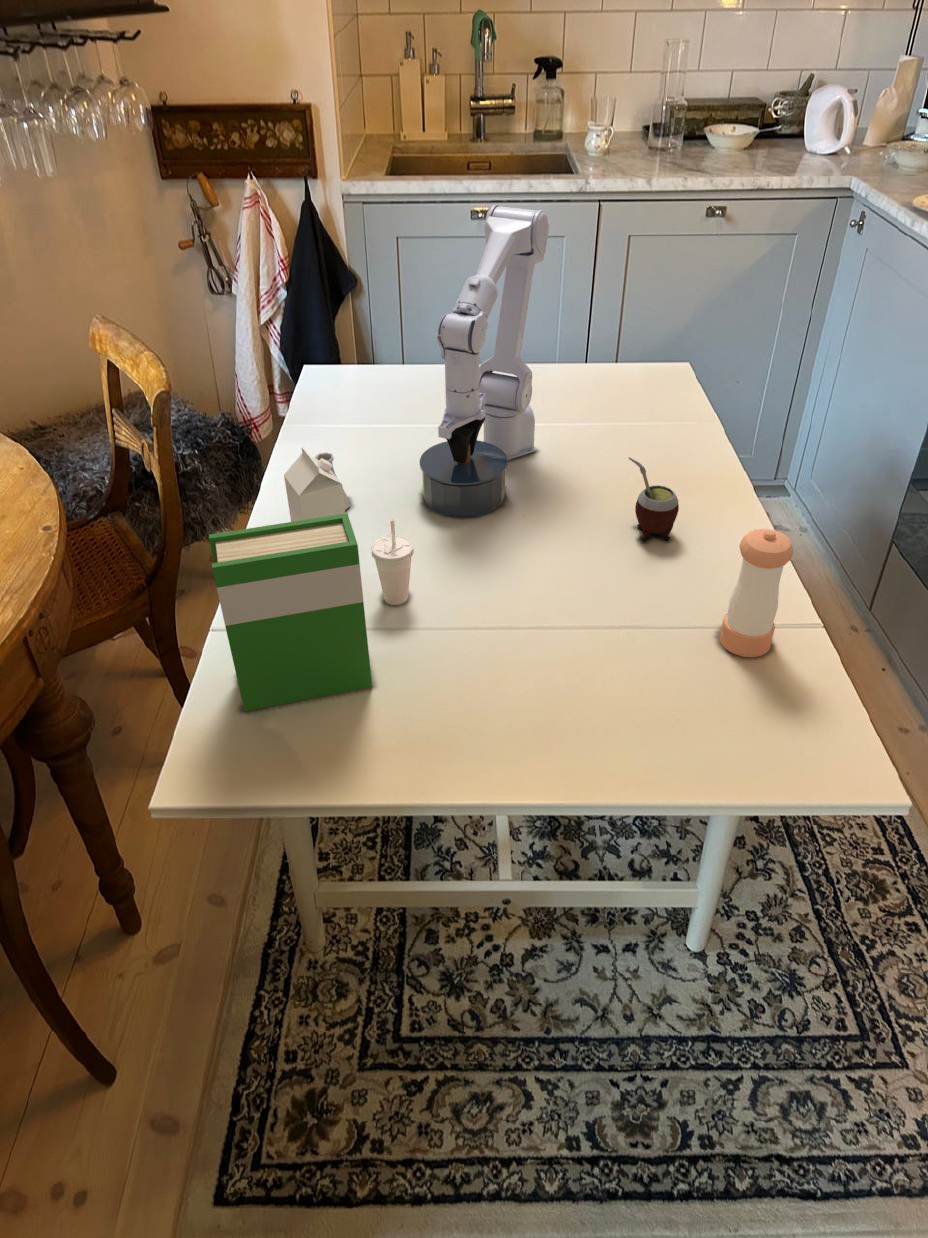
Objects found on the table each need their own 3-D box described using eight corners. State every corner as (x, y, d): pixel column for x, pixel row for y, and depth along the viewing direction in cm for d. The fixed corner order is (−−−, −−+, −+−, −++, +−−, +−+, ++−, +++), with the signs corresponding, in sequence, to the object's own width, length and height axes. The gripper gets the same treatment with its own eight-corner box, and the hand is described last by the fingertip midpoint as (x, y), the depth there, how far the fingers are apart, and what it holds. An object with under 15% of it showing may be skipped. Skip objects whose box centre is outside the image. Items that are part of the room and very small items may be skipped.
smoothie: (423, 591, 148) (419, 516, 139) (404, 614, 143) (399, 538, 135) (387, 581, 150) (381, 506, 141) (368, 604, 145) (360, 528, 137)
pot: (457, 467, 178) (456, 437, 174) (520, 491, 171) (521, 460, 167) (407, 499, 169) (405, 469, 165) (471, 526, 162) (470, 495, 158)
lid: (456, 436, 175) (456, 415, 172) (525, 461, 167) (525, 439, 165) (401, 470, 165) (400, 448, 163) (471, 498, 158) (471, 476, 155)
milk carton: (310, 575, 152) (295, 472, 140) (295, 553, 156) (280, 451, 145) (351, 563, 154) (340, 460, 142) (335, 541, 159) (323, 441, 147)
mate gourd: (682, 532, 160) (694, 454, 150) (656, 552, 155) (667, 473, 146) (645, 516, 164) (655, 439, 154) (619, 535, 159) (627, 457, 150)
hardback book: (244, 711, 127) (212, 567, 112) (239, 675, 133) (208, 534, 118) (372, 686, 131) (357, 544, 116) (362, 653, 136) (347, 513, 121)
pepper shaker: (761, 663, 134) (789, 553, 122) (712, 646, 137) (734, 536, 125) (777, 635, 138) (805, 526, 126) (729, 619, 141) (752, 511, 129)
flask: (353, 496, 170) (349, 447, 164) (346, 518, 165) (340, 468, 158) (314, 494, 171) (308, 445, 165) (305, 516, 165) (298, 466, 159)
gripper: (464, 407, 150) (465, 481, 159) (502, 372, 160) (501, 444, 169) (426, 399, 153) (429, 472, 161) (465, 365, 163) (465, 436, 171)
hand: (463, 457), depth 165 cm, fingers closed on lid, 2 cm apart
